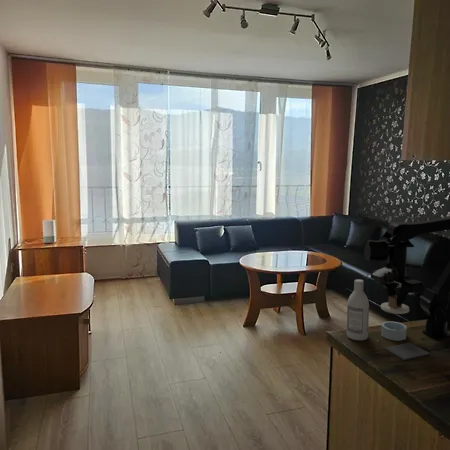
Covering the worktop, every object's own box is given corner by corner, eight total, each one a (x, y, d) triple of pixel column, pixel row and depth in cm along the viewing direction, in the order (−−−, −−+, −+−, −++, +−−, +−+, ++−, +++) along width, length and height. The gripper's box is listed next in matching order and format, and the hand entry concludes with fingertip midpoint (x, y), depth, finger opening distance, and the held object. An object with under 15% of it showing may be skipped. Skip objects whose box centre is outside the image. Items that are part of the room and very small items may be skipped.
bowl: (394, 329, 144) (394, 320, 143) (411, 338, 136) (411, 328, 136) (376, 333, 141) (376, 323, 140) (392, 342, 134) (393, 332, 133)
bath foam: (357, 331, 143) (359, 276, 140) (372, 338, 137) (374, 281, 134) (342, 335, 140) (343, 279, 137) (356, 342, 134) (358, 284, 131)
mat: (409, 343, 132) (409, 342, 132) (429, 354, 125) (429, 353, 125) (384, 349, 129) (384, 347, 129) (403, 360, 121) (403, 358, 121)
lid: (395, 303, 143) (396, 291, 142) (415, 311, 134) (416, 299, 134) (374, 306, 140) (375, 294, 139) (394, 315, 131) (394, 302, 131)
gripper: (358, 256, 140) (357, 299, 143) (399, 269, 123) (396, 318, 125) (384, 253, 144) (382, 295, 147) (426, 265, 127) (424, 312, 129)
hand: (395, 304), depth 137 cm, fingers closed on lid, 3 cm apart
